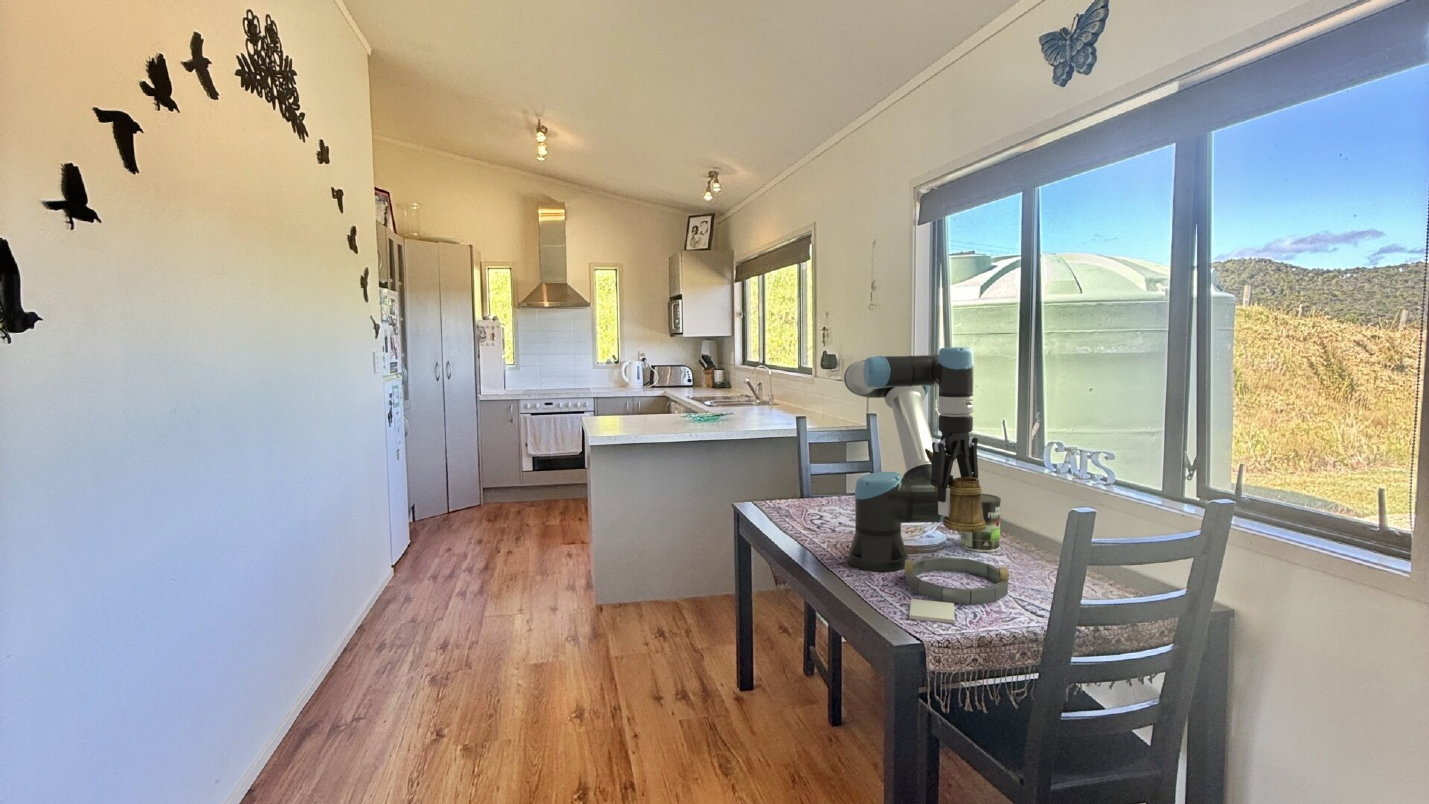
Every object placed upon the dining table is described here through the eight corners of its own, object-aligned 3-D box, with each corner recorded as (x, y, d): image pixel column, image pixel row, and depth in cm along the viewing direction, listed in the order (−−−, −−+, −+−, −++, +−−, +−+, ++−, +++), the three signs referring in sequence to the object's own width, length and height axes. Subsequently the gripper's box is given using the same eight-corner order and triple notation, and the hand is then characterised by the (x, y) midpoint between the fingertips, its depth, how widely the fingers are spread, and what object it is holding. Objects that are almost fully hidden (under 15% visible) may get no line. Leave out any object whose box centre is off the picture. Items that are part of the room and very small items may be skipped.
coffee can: (1006, 546, 188) (1007, 497, 187) (988, 555, 181) (989, 503, 180) (971, 538, 196) (972, 491, 194) (953, 546, 189) (953, 497, 188)
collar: (902, 597, 154) (902, 578, 153) (907, 565, 175) (907, 548, 174) (1012, 608, 146) (1012, 588, 146) (1003, 573, 168) (1004, 555, 167)
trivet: (909, 618, 142) (909, 615, 142) (911, 602, 151) (911, 599, 151) (954, 623, 140) (954, 619, 140) (953, 606, 148) (953, 603, 148)
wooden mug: (927, 518, 164) (927, 444, 162) (987, 524, 157) (988, 447, 156) (920, 527, 156) (921, 450, 154) (983, 534, 149) (984, 453, 148)
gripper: (940, 419, 147) (940, 523, 149) (996, 412, 157) (994, 509, 159) (913, 416, 153) (913, 516, 155) (968, 410, 164) (967, 503, 166)
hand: (954, 512), depth 157 cm, fingers closed on wooden mug, 7 cm apart
